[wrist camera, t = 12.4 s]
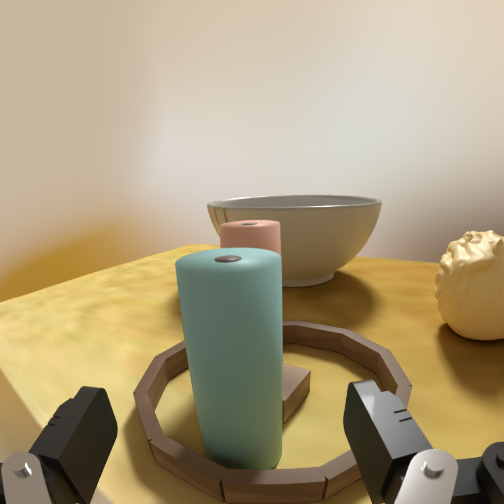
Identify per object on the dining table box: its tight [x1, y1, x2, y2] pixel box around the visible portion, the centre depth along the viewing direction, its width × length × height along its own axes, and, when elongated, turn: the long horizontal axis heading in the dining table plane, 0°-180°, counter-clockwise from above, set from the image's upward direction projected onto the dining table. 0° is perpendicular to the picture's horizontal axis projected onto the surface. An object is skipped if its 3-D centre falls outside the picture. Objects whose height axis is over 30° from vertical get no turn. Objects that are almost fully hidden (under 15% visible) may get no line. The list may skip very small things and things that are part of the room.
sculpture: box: [435, 230, 504, 340], centre depth 27 cm, size 11×12×11 cm
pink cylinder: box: [219, 220, 281, 256], centre depth 26 cm, size 5×5×12 cm
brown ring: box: [133, 320, 412, 504], centre depth 22 cm, size 19×19×2 cm
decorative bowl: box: [207, 195, 382, 287], centre depth 51 cm, size 27×27×12 cm
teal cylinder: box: [175, 248, 283, 470], centre depth 15 cm, size 5×5×12 cm
